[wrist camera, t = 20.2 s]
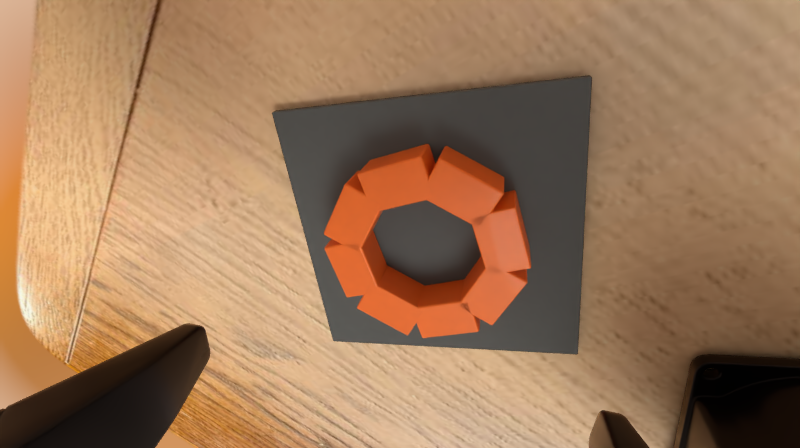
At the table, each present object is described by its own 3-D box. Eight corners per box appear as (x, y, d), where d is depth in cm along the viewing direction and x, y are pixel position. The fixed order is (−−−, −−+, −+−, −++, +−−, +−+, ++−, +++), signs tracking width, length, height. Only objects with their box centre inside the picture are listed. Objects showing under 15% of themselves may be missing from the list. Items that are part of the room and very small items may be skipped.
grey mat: (335, 336, 19) (333, 341, 18) (275, 110, 14) (271, 112, 14) (576, 349, 16) (577, 354, 16) (590, 74, 12) (592, 76, 11)
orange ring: (378, 321, 17) (368, 345, 16) (313, 175, 15) (296, 190, 14) (543, 299, 15) (546, 325, 14) (498, 122, 12) (497, 134, 11)
